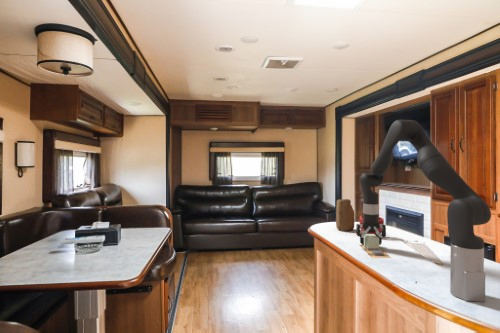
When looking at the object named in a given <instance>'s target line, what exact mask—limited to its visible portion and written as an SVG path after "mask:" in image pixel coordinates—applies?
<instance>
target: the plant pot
mask: <svg viewBox="0 0 500 333" xmlns="http://www.w3.org/2000/svg"><path fill="white" fill-rule="evenodd" d="M384 222H385V220H384V218H383V217H380V216H379V224H384ZM359 224H363V215H360V216H359ZM384 225H385V224H384ZM363 229H364V228H363V227H361V229H360V234H361V232H362V230H363ZM378 231H379V232H380V234H382V229H381V227H379V229H378ZM367 234H375V235H376V236H377V237H378V235H377V234H376V232H375V233H372V232H371V233H368V232H367Z"/></svg>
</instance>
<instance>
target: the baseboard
mask: <svg viewBox="0 0 500 333" xmlns="http://www.w3.org/2000/svg"><path fill="white" fill-rule="evenodd" d="M407 242H409V243H407ZM417 242H418V243H417ZM406 245H407V246H408V247H409V248H411V249H412V250H413V251H415V252H417V253H418V254H419V255H421V256H423V257H424V258H426V259H427V260H428V261H430V262H432V263H433V264H435V265H436V264H437V265H436V266H438V265H439V266H444V262H442V260H441V259H440V258H439V257H438V256H437V254H435V253H434V252H433V251H432V250H431V249H430V248H429V247H428V245H426V243H425V242H423V243H422V242H420V243H419V241H418V240H416V242H413V241H409V240H407V241H406Z"/></svg>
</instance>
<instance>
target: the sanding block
mask: <svg viewBox="0 0 500 333" xmlns="http://www.w3.org/2000/svg"><path fill="white" fill-rule="evenodd" d="M363 246H364V247H365V248H366V249H367V250H379V247H380V245H379V238H378V237H377V236H376V235H375V234H365V236H364V245H363Z"/></svg>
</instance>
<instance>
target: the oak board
mask: <svg viewBox="0 0 500 333" xmlns="http://www.w3.org/2000/svg"><path fill="white" fill-rule="evenodd" d="M359 247H360V248H361V249H362V250H363V251H364V252H365V253H366V255H368V256H369V257H370V258H372V259H373V258H374V259H375V258H376V259H392V257H391V256H390V255H389V254H387V252H385V251H384V249H382V247H380V246H379V250H381V251H382V252H383V256H375V255H374V254H373V253H372V250H367V249H366V248H365V247H364V246H363V245H362V244H359Z"/></svg>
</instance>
